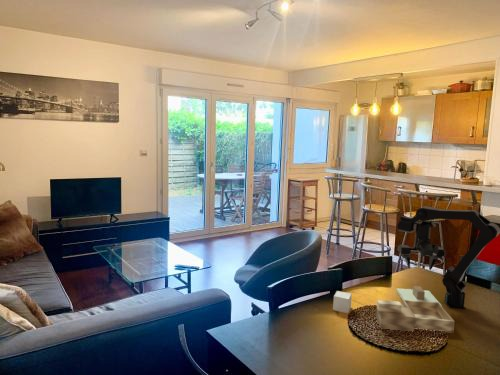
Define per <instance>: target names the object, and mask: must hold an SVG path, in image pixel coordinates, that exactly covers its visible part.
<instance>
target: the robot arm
mask: <svg viewBox="0 0 500 375" xmlns="http://www.w3.org/2000/svg"><path fill="white" fill-rule="evenodd" d="M434 220H461V221H469V222H470V223H471V224H472V225H473V227H474V228H475V229H476V230H477V231H478V234H477V235H476V236H477V237H476V238H475V241H474V243H472V245H471V247H470V248H469V249H468V250H467V252H466V253H465V254H464V256H462V258H461V259H460V261H459V262H458V263H457V264H456V266H455V267H454V266H453V265H451V266H450V267H449V268H447V270H446V272H445V273H444V274H443V275H442V276H441V277H442V280H441V281H442V284H443V286H444V287H445V289H446V292H445V293H444V300H443V302H444V304H445V305H446V306H447V307H448V308H449V309H460V310H466V306H465V300H466V299H465V298H466V293H465V292H464V291H465V290H466V289H467V285H466V283H465V282H464V281H463V279H464V276H465V273H466V271H467V270H468V268H470V266H471V265H472V263H473V262H474V261H475V260H476V258H478V257H479V255H480V253H481V252H482V251H483V250H484V249H485V247H486V246H487V245H488V244H489V243H490V242H492V241H493V240H494V239H495V238H497V237H498V236H499V235H500V226H499V225H497V223H493V222H491V221H490V220H489V219H488V218H486V217H485V216H483V215H482V214H481V213H480V212H479V211H477V210H475V209H471V210H470V209H469V210H465V209H464V210H463V209H440V208H436V207H434V206H433V207H432V206H427V205H426V206H421V207H419V208H418V209H417V210H416V212H415V214H414V215H413V216H412V217H408V216H403V215H402V216H400V218H399V220H398V223H397V230H398V231H399V232H405V233H411V234H413V232H415V235H414V244H413V247H410V246H409V245H408V244H399V245H398V246H397V251H398V252H399V253H400V254H402V255H403V257H404V260H405V262H406V266H407V269H411V257H412V255H411V253H420V255H421V256H422V257H429V259H428V260H429V263H428V270H430V271H431V270H432V269H433V267H434V265H435V264H436V261H437V260H438V259H442V257H446V250H445V249H444V248H442V247H441V246H439V245H438V244H432V243H431V242H432V240H431V238H430V237H431V236H430V235H431V228H435V227H437V224H436V223H435V222H434ZM419 221H421V222H419Z"/></svg>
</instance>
